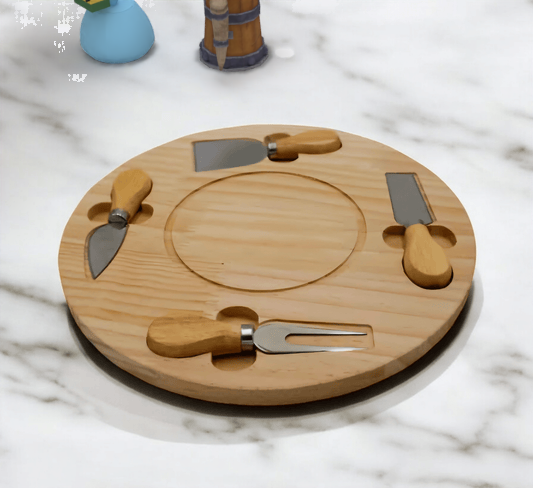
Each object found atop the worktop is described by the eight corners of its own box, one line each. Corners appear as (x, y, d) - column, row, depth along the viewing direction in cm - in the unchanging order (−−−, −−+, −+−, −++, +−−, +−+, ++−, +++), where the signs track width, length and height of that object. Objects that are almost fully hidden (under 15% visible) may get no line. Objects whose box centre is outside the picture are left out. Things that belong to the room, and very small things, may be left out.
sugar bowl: (107, 26, 142) (97, -27, 134) (168, 39, 138) (162, -15, 130) (68, 58, 132) (55, 3, 124) (133, 72, 128) (124, 16, 120)
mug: (257, 88, 124) (257, -16, 110) (184, 81, 126) (174, -22, 112) (274, 40, 138) (275, -58, 124) (207, 34, 140) (201, -63, 126)
